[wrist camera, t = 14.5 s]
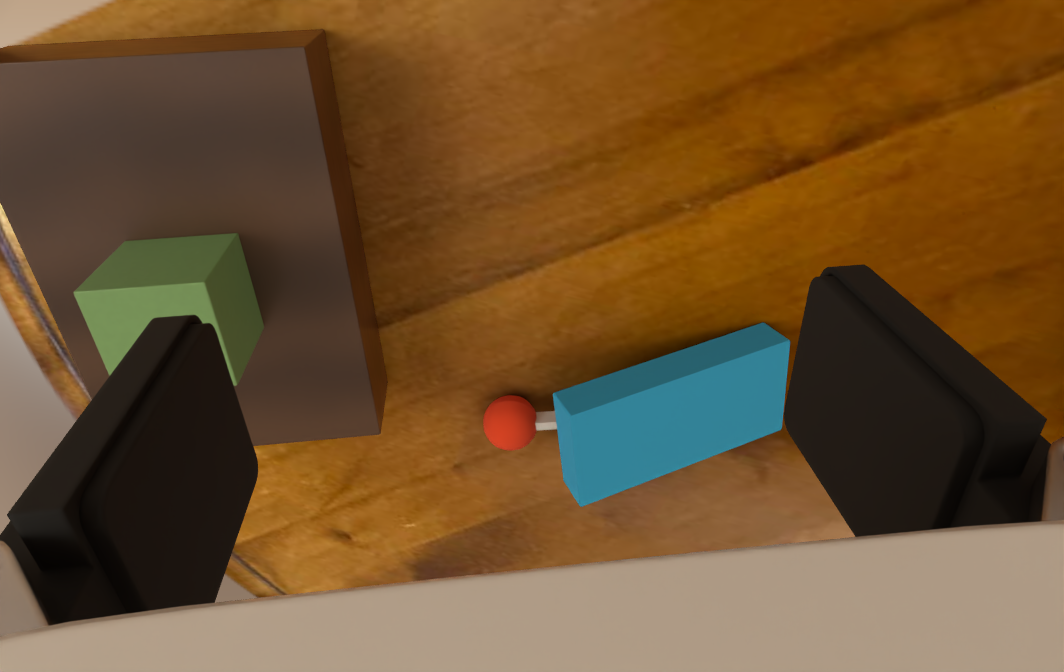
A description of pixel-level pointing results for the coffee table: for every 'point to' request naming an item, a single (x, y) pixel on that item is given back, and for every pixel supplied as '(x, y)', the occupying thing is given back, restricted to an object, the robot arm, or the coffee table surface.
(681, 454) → the lever
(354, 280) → the block
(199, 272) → the green toy block
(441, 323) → the coffee table surface
